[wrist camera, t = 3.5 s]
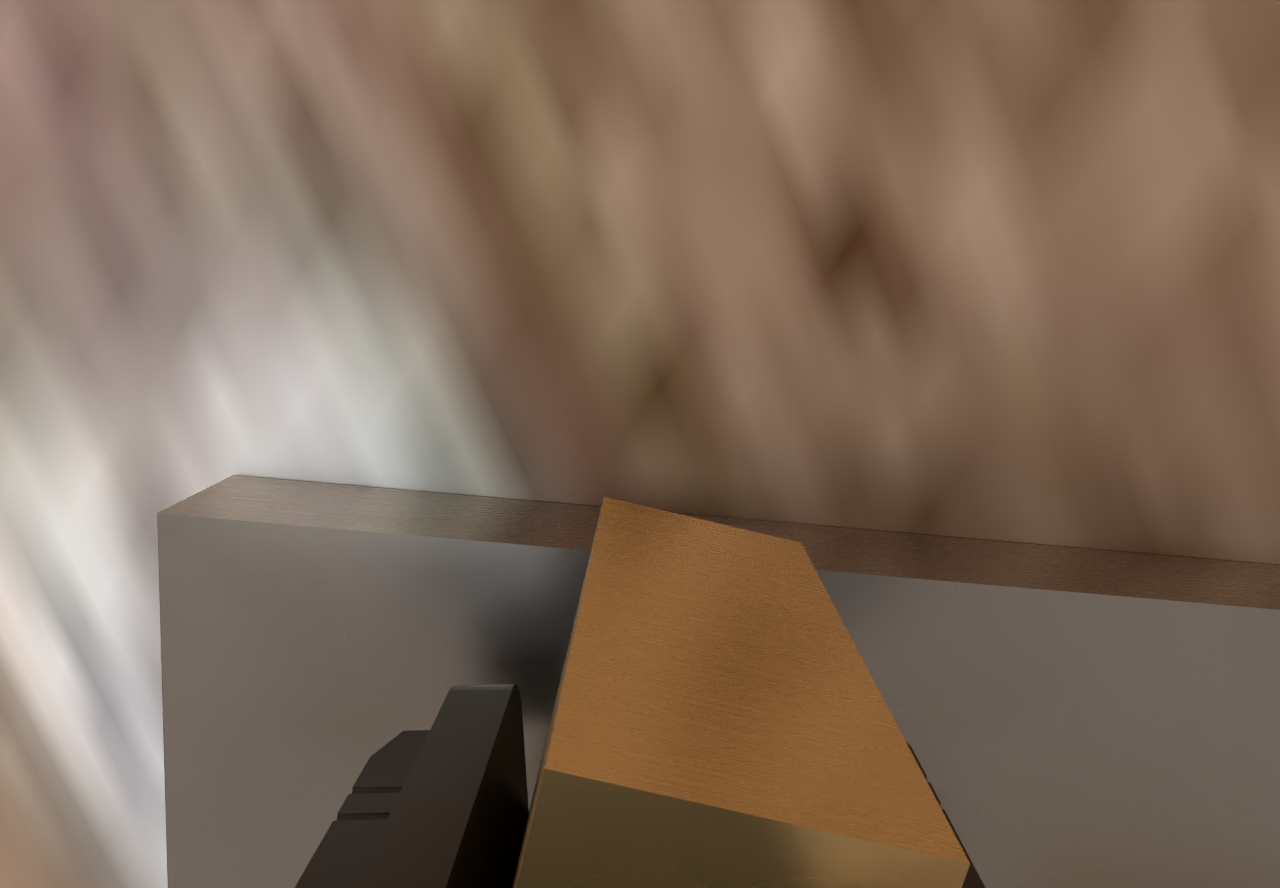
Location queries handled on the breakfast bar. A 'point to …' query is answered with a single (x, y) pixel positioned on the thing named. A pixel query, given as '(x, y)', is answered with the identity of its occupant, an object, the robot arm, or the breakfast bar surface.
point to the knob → (722, 729)
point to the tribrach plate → (866, 602)
